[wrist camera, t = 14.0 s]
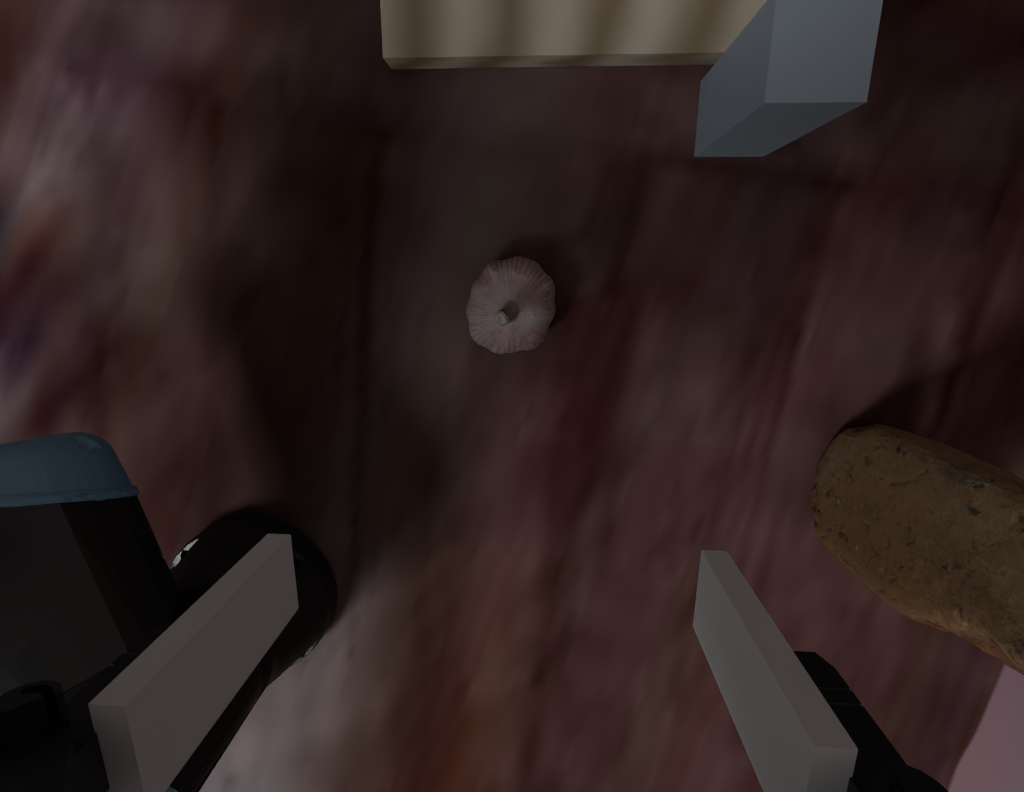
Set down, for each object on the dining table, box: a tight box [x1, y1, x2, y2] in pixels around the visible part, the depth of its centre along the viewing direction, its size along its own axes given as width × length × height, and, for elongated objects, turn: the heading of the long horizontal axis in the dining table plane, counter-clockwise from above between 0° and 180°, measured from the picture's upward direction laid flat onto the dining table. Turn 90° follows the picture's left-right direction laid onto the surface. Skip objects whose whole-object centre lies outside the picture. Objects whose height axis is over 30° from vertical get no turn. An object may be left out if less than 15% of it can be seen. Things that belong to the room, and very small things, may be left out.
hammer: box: [694, 0, 883, 157], centre depth 29 cm, size 5×13×12 cm, turn 0°
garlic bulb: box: [466, 256, 556, 354], centre depth 36 cm, size 8×7×8 cm
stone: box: [810, 424, 1024, 675], centre depth 32 cm, size 11×8×20 cm
